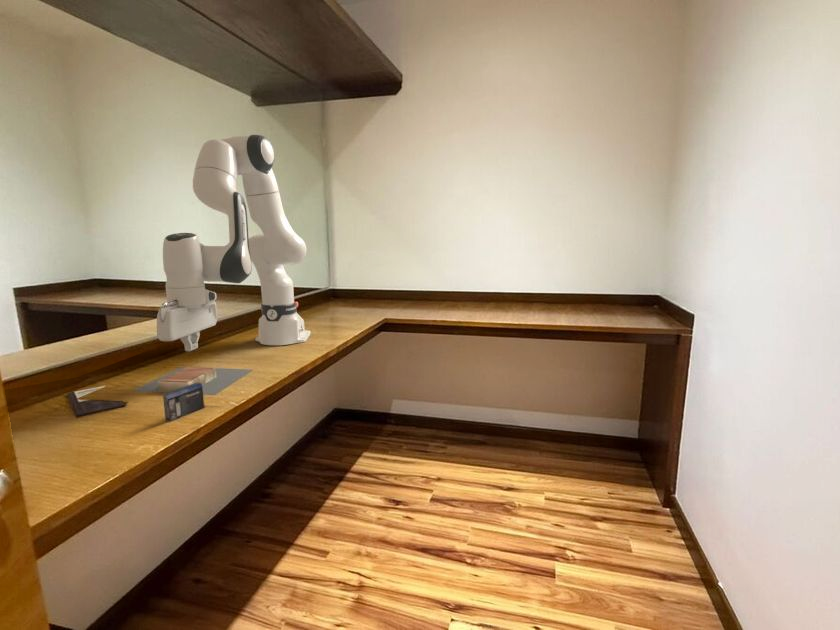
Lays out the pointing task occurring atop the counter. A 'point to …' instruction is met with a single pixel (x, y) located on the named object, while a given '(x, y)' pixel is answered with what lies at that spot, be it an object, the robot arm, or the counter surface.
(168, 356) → the counter surface
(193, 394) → the mini dv tape
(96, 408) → the chocolate bar
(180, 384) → the wooden block
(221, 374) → the mat
